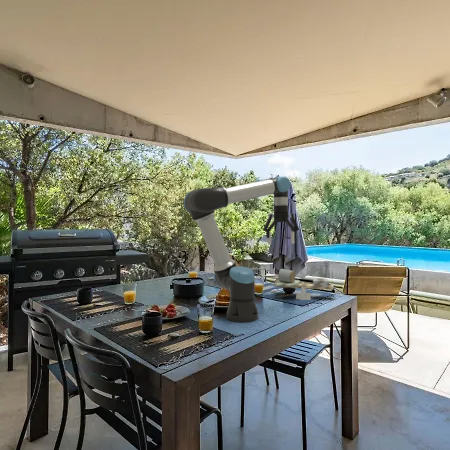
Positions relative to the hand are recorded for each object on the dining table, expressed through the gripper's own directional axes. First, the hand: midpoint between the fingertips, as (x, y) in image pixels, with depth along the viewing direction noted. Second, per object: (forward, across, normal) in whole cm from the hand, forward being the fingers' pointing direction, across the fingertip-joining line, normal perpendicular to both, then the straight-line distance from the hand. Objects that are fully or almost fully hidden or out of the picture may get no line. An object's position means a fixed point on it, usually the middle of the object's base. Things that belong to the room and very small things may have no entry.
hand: (281, 243), depth 182 cm
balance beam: (+27, -17, -8) cm, 33 cm away
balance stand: (+33, -17, -8) cm, 38 cm away
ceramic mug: (+24, -9, -13) cm, 29 cm away
